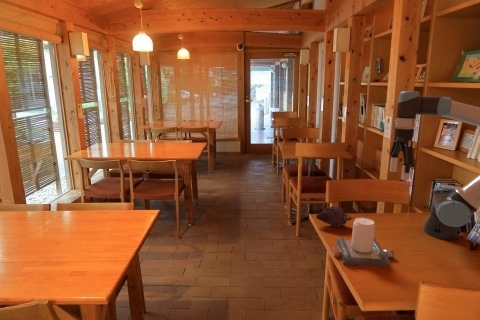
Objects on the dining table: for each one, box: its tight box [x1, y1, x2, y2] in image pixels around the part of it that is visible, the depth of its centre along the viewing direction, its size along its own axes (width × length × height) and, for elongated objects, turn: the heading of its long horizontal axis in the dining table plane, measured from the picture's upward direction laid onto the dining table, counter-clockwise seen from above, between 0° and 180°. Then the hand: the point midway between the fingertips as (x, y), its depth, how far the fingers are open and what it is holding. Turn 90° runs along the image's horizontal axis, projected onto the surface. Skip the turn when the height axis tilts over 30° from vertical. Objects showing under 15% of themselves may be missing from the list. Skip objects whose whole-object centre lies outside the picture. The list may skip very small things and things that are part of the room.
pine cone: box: [315, 205, 354, 228], centre depth 163 cm, size 18×10×10 cm, turn 88°
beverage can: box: [351, 217, 376, 253], centre depth 134 cm, size 8×8×12 cm
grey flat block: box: [331, 235, 395, 268], centre depth 136 cm, size 23×15×4 cm, turn 85°
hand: (398, 175), depth 149 cm, fingers open, 13 cm apart
